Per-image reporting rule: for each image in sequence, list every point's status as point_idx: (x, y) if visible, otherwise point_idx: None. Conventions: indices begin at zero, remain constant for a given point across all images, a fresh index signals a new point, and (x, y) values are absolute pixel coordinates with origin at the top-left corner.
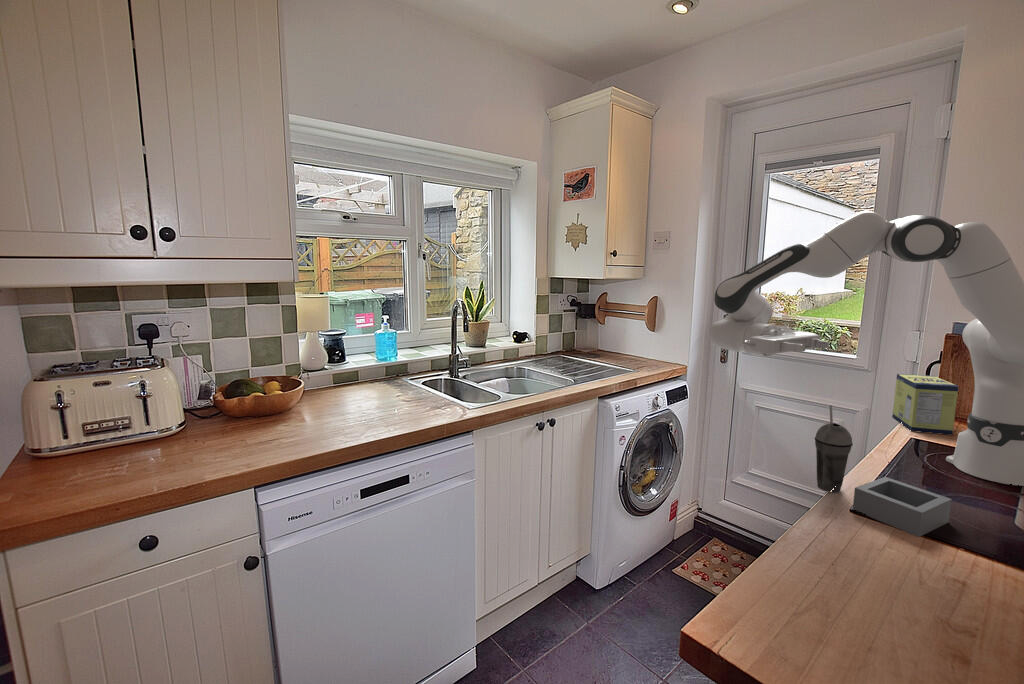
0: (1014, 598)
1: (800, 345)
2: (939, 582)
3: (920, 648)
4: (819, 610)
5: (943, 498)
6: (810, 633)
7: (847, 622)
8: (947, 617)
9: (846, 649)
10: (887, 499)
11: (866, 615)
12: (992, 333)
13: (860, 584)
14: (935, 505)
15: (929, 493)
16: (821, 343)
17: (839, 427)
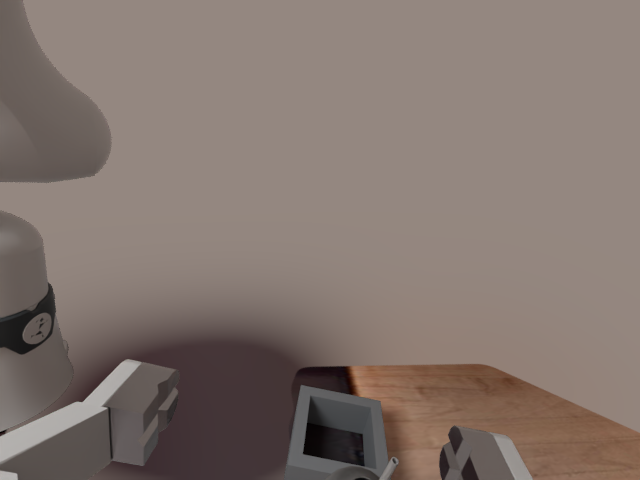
0: (401, 365)
1: (509, 445)
2: (440, 400)
3: (531, 396)
4: (599, 454)
5: (307, 391)
6: (623, 449)
7: (577, 434)
8: (479, 390)
9: (596, 426)
10: (383, 436)
11: (552, 427)
12: (22, 118)
13: (526, 443)
14: (341, 394)
15: (304, 404)
16: (160, 404)
17: (370, 476)
